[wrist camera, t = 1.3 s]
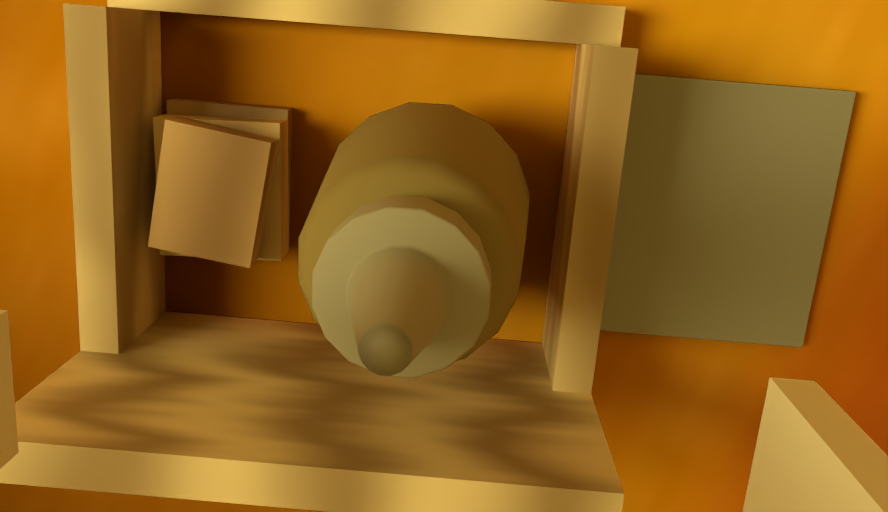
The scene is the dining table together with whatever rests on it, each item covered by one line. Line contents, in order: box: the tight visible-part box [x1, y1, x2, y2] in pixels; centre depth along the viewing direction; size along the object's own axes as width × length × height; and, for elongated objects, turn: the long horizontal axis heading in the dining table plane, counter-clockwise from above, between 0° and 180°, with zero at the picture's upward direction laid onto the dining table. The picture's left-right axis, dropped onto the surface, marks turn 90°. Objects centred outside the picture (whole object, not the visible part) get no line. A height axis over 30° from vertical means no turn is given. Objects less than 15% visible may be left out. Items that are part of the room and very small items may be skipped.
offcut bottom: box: [167, 98, 293, 234], centre depth 34 cm, size 5×6×2 cm
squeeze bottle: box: [298, 102, 530, 378], centre depth 25 cm, size 8×8×18 cm
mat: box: [600, 74, 856, 347], centre depth 34 cm, size 10×11×1 cm
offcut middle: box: [153, 114, 289, 261], centre depth 33 cm, size 5×6×2 cm
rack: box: [0, 0, 639, 512], centre depth 28 cm, size 20×16×12 cm
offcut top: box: [148, 116, 279, 268], centre depth 31 cm, size 4×5×2 cm
